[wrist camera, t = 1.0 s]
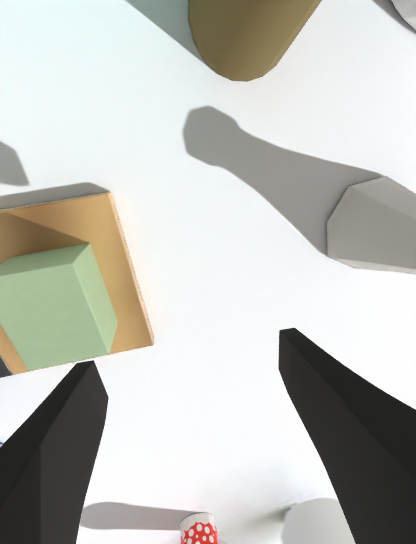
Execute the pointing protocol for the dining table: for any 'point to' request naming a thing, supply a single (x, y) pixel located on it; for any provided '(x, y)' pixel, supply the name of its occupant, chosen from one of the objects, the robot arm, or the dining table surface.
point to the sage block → (56, 306)
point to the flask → (374, 227)
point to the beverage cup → (199, 529)
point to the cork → (246, 33)
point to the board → (69, 232)
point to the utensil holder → (407, 10)
